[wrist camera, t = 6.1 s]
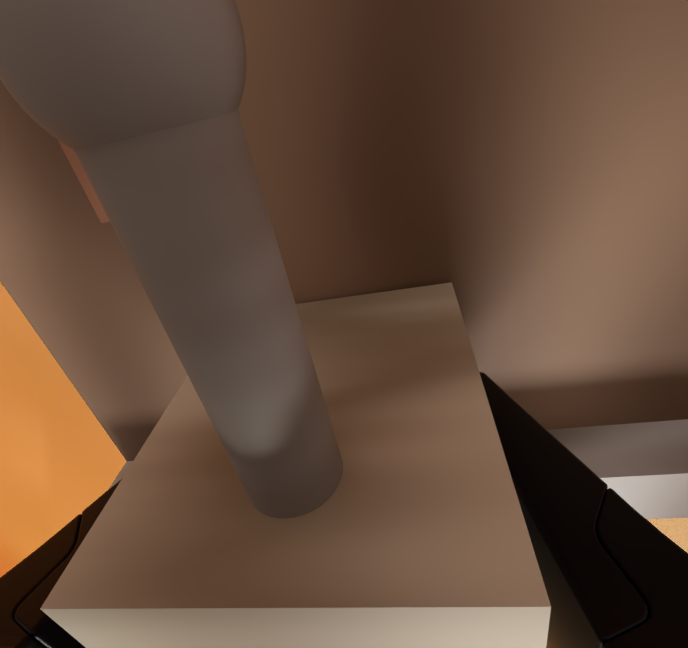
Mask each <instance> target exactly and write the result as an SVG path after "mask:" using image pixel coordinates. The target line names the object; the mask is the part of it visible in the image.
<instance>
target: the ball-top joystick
mask: <svg viewBox="0 0 688 648" xmlns="http://www.w3.org/2000/svg"><path fill="white" fill-rule="evenodd" d="M245 78H246V46H245V37H244V32H243V27H242V23H241V19H240V15H239V12H238V9H237V6H236V3H235V0H0V80H1V82H2V83H3V85H4V86H5V88H6V89H7V90H8V92H9V93H10V95H11V96H12V97H13V98H14V100H15V101H16V102H17V103H18V104H19V105H20V107H21V108H22V109H23V110H24V111H25V112H26V113H27V114H28V115H29V116H30V117H31V118H32V119H33V120H34V121H35V122H36V123H38V124H39V125H40V126H41V127H42V128H43V129H45V130H46V131H47V132H48V133H49V134H51V135H52V136H53V137H55V138H56V139H58V140H59V141H60V142H62V143H63V144H65V145H66V146H68V147H70V148H72V149H74V151H75V153H76V155H77V157H78V159H79V161H80V163H81V165H82V167H83V169H84V171H85V173H86V175H87V177H88V179H89V181H90V183H91V185H92V187H93V189H94V191H95V193H96V195H97V197H98V199H99V201H100V203H101V205H102V207H103V209H104V211H105V213H106V214H107V216H108V218H109V220H110V222H111V224H112V226H113V228H114V230H115V232H116V234H117V236H118V238H119V240H120V242H121V244H122V246H123V248H124V250H125V252H126V254H127V256H128V258H129V260H130V262H131V264H132V266H133V268H134V270H135V272H136V274H137V276H138V278H139V280H140V282H141V284H142V286H143V288H144V290H145V292H146V294H147V296H148V298H149V300H150V301H151V303H152V305H153V307H154V309H155V311H156V313H157V315H158V317H159V319H160V321H161V323H162V325H163V327H164V329H165V331H166V333H167V335H168V337H169V339H170V341H171V343H172V345H173V347H174V349H175V351H176V353H177V355H178V357H179V359H180V361H181V363H182V365H183V367H184V369H185V371H186V373H187V376H186V378H185V380H184V381H183V383H182V384H181V386H180V388H179V389H178V391H177V392H176V394H175V396H174V397H173V399H172V400H171V402H170V403H169V405H168V407H167V408H166V410H165V411H164V413H163V415H162V416H161V418H160V419H159V421H158V423H157V424H156V426H155V427H154V429H153V430H152V432H151V434H150V435H149V437H148V438H147V440H146V442H145V443H144V445H143V446H142V448H141V450H140V451H139V453H138V454H137V456H136V457H135V459H134V461H133V462H132V464H131V465H130V467H129V469H128V470H127V472H126V473H125V475H124V476H123V478H122V480H121V481H120V483H119V484H118V486H117V488H116V489H115V491H114V492H113V494H112V496H111V497H110V499H109V500H108V502H107V503H106V505H105V507H104V508H103V510H102V511H101V513H100V515H99V516H98V518H97V519H96V521H95V523H94V524H93V526H92V527H91V529H90V530H89V532H88V534H87V535H86V537H85V538H84V540H83V542H82V543H81V545H80V546H79V548H78V550H77V551H76V553H75V554H74V556H73V557H72V559H71V561H70V562H69V564H68V565H67V567H66V569H65V570H64V572H63V573H62V575H61V577H60V578H59V580H58V581H57V583H56V584H55V586H54V588H53V589H52V591H51V592H50V594H49V596H48V597H47V599H46V600H45V602H44V604H43V605H42V607H41V608H40V609H41V610H42V611H43V612H44V613H45V614H46V615H48V616H49V617H50V618H51V619H52V620H54V621H55V622H56V623H57V624H58V625H59V626H61V627H62V628H63V629H64V630H65V631H67V632H68V633H69V634H70V635H71V636H73V637H74V638H75V639H76V640H77V641H78V642H80V643H81V644H82V645H83V646H84V647H86V648H546V645H547V637H548V629H549V620H550V612H551V605H550V601H549V598H548V595H547V592H546V588H545V585H544V582H543V579H542V575H541V572H540V569H539V565H538V562H537V559H536V556H535V552H534V549H533V546H532V543H531V539H530V536H529V533H528V530H527V526H526V523H525V520H524V516H523V513H522V510H521V507H520V503H519V500H518V497H517V494H516V490H515V487H514V484H513V481H512V477H511V474H510V471H509V467H508V464H507V461H506V458H505V454H504V451H503V448H502V445H501V441H500V438H499V435H498V432H497V428H496V425H495V422H494V419H493V415H492V412H491V409H490V405H489V402H488V399H487V396H486V392H485V389H484V386H483V383H482V379H481V376H480V373H479V370H478V366H477V363H476V360H475V356H474V353H473V350H472V347H471V343H470V340H469V337H468V334H467V330H466V327H465V324H464V321H463V317H462V314H461V311H460V307H459V304H458V301H457V298H456V294H455V291H454V288H453V285H452V282H451V283H444V284H436V285H429V286H422V287H415V288H408V289H400V290H393V291H386V292H379V293H372V294H364V295H357V296H350V297H343V298H335V299H328V300H321V301H314V302H307V303H299V304H296V303H295V300H294V297H293V293H292V290H291V287H290V283H289V280H288V277H287V273H286V270H285V267H284V263H283V260H282V257H281V253H280V250H279V247H278V243H277V240H276V237H275V233H274V230H273V227H272V223H271V220H270V217H269V213H268V210H267V206H266V203H265V200H264V196H263V193H262V190H261V186H260V183H259V180H258V176H257V173H256V170H255V166H254V163H253V160H252V156H251V153H250V150H249V146H248V143H247V140H246V136H245V133H244V130H243V126H242V123H241V119H240V116H239V113H238V107H239V105H240V102H241V99H242V95H243V90H244V86H245Z"/></svg>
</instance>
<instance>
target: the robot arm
mask: <svg viewBox="0 0 688 648" xmlns="http://www.w3.org/2000/svg"><path fill="white" fill-rule="evenodd" d="M479 373H480V376H481V379H482V383H483V386H484V389H485V392H486V396H487V399H488V402H489V405H490V409H491V412H492V415H493V419H494V422H495V425H496V428H497V432H498V435H499V438H500V441H501V445H502V448H503V451H504V454H505V458H506V461H507V464H508V467H509V471H510V474H511V477H512V481H513V484H514V487H515V490H516V494H517V497H518V500H519V503H520V507H521V510H522V513H523V516H524V520H525V523H526V526H527V530H528V533H529V536H530V539H531V543H532V546H533V549H534V552H535V556H536V559H537V562H538V565H539V569H540V572H541V575H542V579H543V582H544V585H545V588H546V592H547V595H548V598H549V601H550V605H551V612H550V620H549V629H548V637H547V645H546V648H688V553H687V552H685V551H684V550H683V549H682V548H680V547H679V546H678V545H677V544H675V543H674V542H673V541H672V540H670V539H669V538H668V537H667V536H665V535H664V534H663V533H661V532H660V531H659V530H658V529H657V528H656V527H655V526H653V525H652V524H651V523H650V522H649V521H648V520H646V519H645V518H644V517H643V516H642V515H641V514H640V513H638V512H637V511H636V510H635V509H634V508H633V507H631V506H630V505H629V504H628V503H627V502H626V501H625V500H624V499H623V498H622V497H620V496H619V495H618V494H617V493H616V492H615V491H614V490H613V489H611V488H608V485H607V484H606V483H605V482H604V481H603V480H602V479H600V478H599V477H598V476H597V475H596V474H595V473H594V472H593V471H592V470H591V469H589V468H588V467H587V466H586V465H585V464H584V463H583V462H582V461H581V460H580V459H578V458H577V457H576V456H575V455H574V454H573V453H572V452H571V451H570V450H569V449H568V448H566V447H565V446H564V445H563V444H562V443H561V442H560V441H559V440H558V439H557V438H555V437H554V436H553V435H552V434H551V433H550V432H549V431H548V430H547V429H546V428H544V427H543V426H542V425H541V424H540V423H539V422H538V421H537V420H536V419H535V418H533V417H532V416H531V415H530V414H529V413H528V412H527V411H526V410H525V409H524V408H522V407H521V406H520V405H519V404H518V403H517V402H516V401H515V400H514V399H513V398H511V397H510V396H509V395H508V394H507V393H506V392H505V391H504V390H503V389H502V388H500V387H499V386H498V385H497V384H496V383H495V382H494V381H493V380H492V379H491V378H489V377H488V376H487V375H486V374H485V373H483V372H479ZM121 480H122V479H121ZM121 480H119V481H118V482H117V483H116V484H115V485H114V486H112V487H111V488H110V489H109V490H108V491H106V492H105V493H104V494H103V495H102V496H100V497H99V498H98V499H97V500H96V501H95V502H93V503H92V504H91V505H90V506H89V507H87V508H86V509H85V510H84V511H83V512H82V514H79V515H78V516H77V517H75V518H74V519H73V520H72V521H71V522H70V523H68V524H67V525H66V526H65V527H64V528H62V529H61V530H60V531H59V532H58V533H56V534H55V535H54V536H53V537H51V538H50V539H49V540H48V541H47V542H45V543H44V544H43V545H42V546H40V547H39V548H38V549H37V550H36V551H34V552H33V553H32V554H30V555H29V556H28V557H27V558H25V559H24V560H23V561H21V562H20V563H19V564H17V565H16V566H15V567H14V568H12V569H11V570H10V571H8V572H7V573H6V574H5V575H3V576H2V577H1V578H0V648H86V647H84V646H83V645H82V644H81V643H80V642H78V641H77V640H76V639H75V638H74V637H73V636H71V635H70V634H69V633H68V632H67V631H65V630H64V629H63V628H62V627H61V626H59V625H58V624H57V623H56V622H55V621H54V620H52V619H51V618H50V617H49V616H48V615H46V614H45V613H44V612H43V611H42V610H41V609H40V608H41V607H42V605H43V604H44V602H45V600H46V599H47V597H48V596H49V594H50V592H51V591H52V589H53V588H54V586H55V584H56V583H57V581H58V580H59V578H60V577H61V575H62V573H63V572H64V570H65V569H66V567H67V565H68V564H69V562H70V561H71V559H72V557H73V556H74V554H75V553H76V551H77V550H78V548H79V546H80V545H81V543H82V542H83V540H84V538H85V537H86V535H87V534H88V532H89V530H90V529H91V527H92V526H93V524H94V523H95V521H96V519H97V518H98V516H99V515H100V513H101V511H102V510H103V508H104V507H105V505H106V503H107V502H108V500H109V499H110V497H111V496H112V494H113V492H114V491H115V489H116V488H117V486H118V484H119V483H120V481H121Z"/></svg>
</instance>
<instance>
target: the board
mask: <svg viewBox="0 0 688 648" xmlns="http://www.w3.org/2000/svg"><path fill="white" fill-rule="evenodd" d="M235 3H236V6H237V9H238V12H239V15H240V19H241V23H242V27H243V32H244V37H245V46H246V78H245V86H244V90H243V95H242V99H241V102H240V105H239V107H238V113H239V116H240V119H241V123H242V126H243V130H244V133H245V136H246V140H247V143H248V146H249V150H250V153H251V156H252V160H253V163H254V166H255V170H256V173H257V176H258V180H259V183H260V186H261V190H262V193H263V196H264V200H265V203H266V206H267V210H268V213H269V217H270V220H271V223H272V227H273V230H274V233H275V237H276V240H277V243H278V247H279V250H280V253H281V257H282V260H283V263H284V267H285V270H286V273H287V277H288V280H289V283H290V287H291V290H292V293H293V297H294V300H295V303H296V304H299V303H307V302H314V301H321V300H328V299H335V298H343V297H350V296H357V295H364V294H372V293H379V292H386V291H393V290H400V289H408V288H415V287H422V286H429V285H436V284H444V283H451V282H452V285H453V288H454V291H455V294H456V298H457V301H458V304H459V307H460V311H461V314H462V317H463V321H464V324H465V327H466V330H467V334H468V337H469V340H470V343H471V347H472V350H473V353H474V356H475V360H476V363H477V366H478V370H479V372H483V373H485V374H486V375H487V376H488V377H489V378H491V379H492V380H493V381H494V382H495V383H496V384H497V385H498V386H499V387H500V388H502V389H503V390H504V391H505V392H506V393H507V394H508V395H509V396H510V397H511V398H513V399H514V400H515V401H516V402H517V403H518V404H519V405H520V406H521V407H522V408H524V409H525V410H526V411H527V412H528V413H529V414H530V415H531V416H532V417H533V418H535V419H536V420H537V421H538V422H539V423H540V424H541V425H542V426H543V427H544V428H546V429H547V430H548V431H549V432H550V433H551V434H552V435H553V436H554V437H555V438H557V439H558V440H559V441H560V442H561V443H562V444H563V445H564V446H565V447H566V448H568V449H569V450H570V451H571V452H572V453H573V454H574V455H575V456H576V457H577V458H578V459H580V460H581V461H582V462H583V463H584V464H585V465H586V466H587V467H588V468H589V469H591V470H592V471H593V472H594V473H595V474H596V475H597V476H598V477H599V478H600V479H602V480H603V481H604V482H605V483H606V484H607V485H608V488H611V489H613V490H614V491H615V492H616V493H617V494H618V495H619V496H620V497H622V498H623V499H624V500H625V501H626V502H627V503H628V504H629V505H630V506H631V507H633V508H634V509H635V510H636V511H637V512H638V513H640V514H641V515H642V516H643V517H644V518H645V519H661V518H688V0H235ZM0 281H1V283H2V284H3V286H4V287H5V289H6V290H7V291H8V293H9V294H10V296H11V297H12V298H13V300H14V301H15V303H16V304H17V306H18V307H19V308H20V310H21V311H22V313H23V314H24V316H25V317H26V318H27V320H28V321H29V323H30V324H31V325H32V327H33V328H34V330H35V331H36V333H37V334H38V335H39V337H40V338H41V340H42V341H43V343H44V344H45V345H46V347H47V348H48V350H49V351H50V353H51V354H52V355H53V357H54V358H55V360H56V361H57V362H58V364H59V365H60V367H61V368H62V370H63V371H64V372H65V374H66V375H67V377H68V378H69V380H70V381H71V382H72V384H73V385H74V387H75V388H76V389H77V391H78V392H79V394H80V395H81V397H82V398H83V399H84V401H85V402H86V404H87V405H88V407H89V408H90V409H91V411H92V412H93V414H94V415H95V417H96V418H97V419H98V421H99V422H100V424H101V425H102V426H103V428H104V429H105V431H106V432H107V434H108V435H109V436H110V438H111V439H112V441H113V442H114V444H115V445H116V446H117V448H118V449H119V451H120V452H121V453H122V455H123V456H124V458H125V459H126V461H127V462H126V464H125V465H124V467H123V468H122V470H121V471H120V473H119V474H118V476H117V477H116V479H115V480H114V482H113V483H112V485H111V486H110V488H111V487H112V486H114V485H115V484H116V483H117V482H118V481H119V480H121V479H122V478H123V476H124V475H125V473H126V472H127V470H128V469H129V467H130V465H131V464H132V462H133V461H134V459H135V457H136V456H137V454H138V453H139V451H140V450H141V448H142V446H143V445H144V443H145V442H146V440H147V438H148V437H149V435H150V434H151V432H152V430H153V429H154V427H155V426H156V424H157V423H158V421H159V419H160V418H161V416H162V415H163V413H164V411H165V410H166V408H167V407H168V405H169V403H170V402H171V400H172V399H173V397H174V396H175V394H176V392H177V391H178V389H179V388H180V386H181V384H182V383H183V381H184V380H185V378H186V376H187V373H186V371H185V369H184V367H183V365H182V363H181V361H180V359H179V357H178V355H177V353H176V351H175V349H174V347H173V345H172V343H171V341H170V339H169V337H168V335H167V333H166V331H165V329H164V327H163V325H162V323H161V321H160V319H159V317H158V315H157V313H156V311H155V309H154V307H153V305H152V303H151V301H150V300H149V298H148V296H147V294H146V292H145V290H144V288H143V286H142V284H141V282H140V280H139V278H138V276H137V274H136V272H135V270H134V268H133V266H132V264H131V262H130V260H129V258H128V256H127V254H126V252H125V250H124V248H123V246H122V244H121V242H120V240H119V238H118V236H117V234H116V232H115V230H114V228H113V226H112V224H111V222H110V220H109V218H108V216H107V214H106V213H105V211H104V209H103V207H102V205H101V203H100V201H99V199H98V197H97V195H96V193H95V191H94V189H93V187H92V185H91V183H90V181H89V179H88V177H87V175H86V173H85V171H84V169H83V167H82V165H81V163H80V161H79V159H78V157H77V155H76V153H75V151H74V149H72V148H70V147H68V146H66V145H65V144H63V143H62V142H60V141H59V140H58V139H56V138H55V137H53V136H52V135H51V134H49V133H48V132H47V131H46V130H45V129H43V128H42V127H41V126H40V125H39V124H38V123H36V122H35V121H34V120H33V119H32V118H31V117H30V116H29V115H28V114H27V113H26V112H25V111H24V110H23V109H22V108H21V107H20V105H19V104H18V103H17V102H16V101H15V100H14V98H13V97H12V96H11V95H10V93H9V92H8V90H7V89H6V88H5V86H4V85H3V83H2V82H1V80H0ZM110 488H109V489H110Z"/></svg>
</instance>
